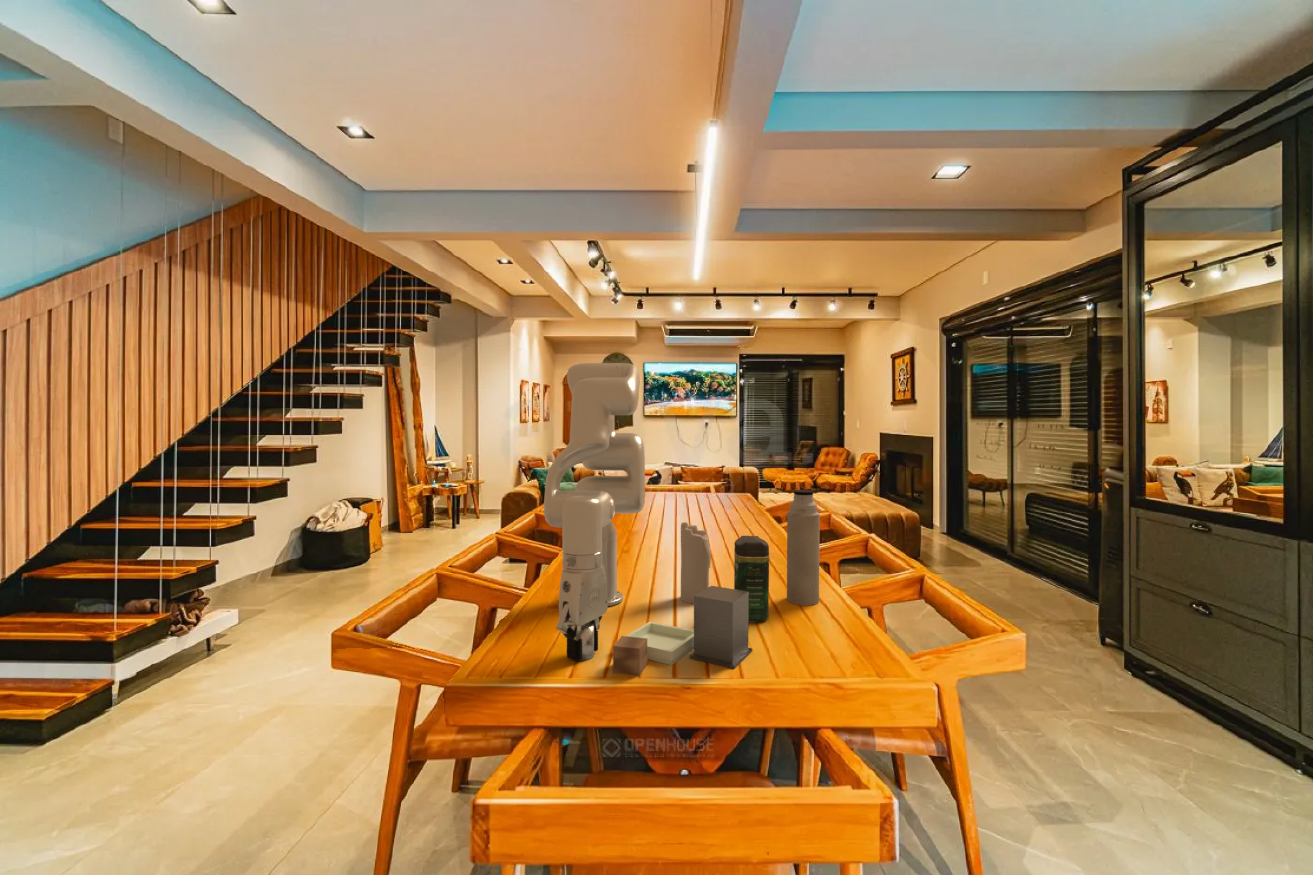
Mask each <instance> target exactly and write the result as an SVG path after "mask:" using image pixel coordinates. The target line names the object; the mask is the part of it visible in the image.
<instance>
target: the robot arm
mask: <svg viewBox="0 0 1313 875" xmlns="http://www.w3.org/2000/svg"><path fill="white" fill-rule="evenodd" d="M566 380H567V384H568V387H569V390H570V393H571V410H570V414H571V415H570V425H569V426H570V429H569V442H568V444H567V445H566V446H565V447H564V449H563V450H562V451H561V452H559V454H558V455H557V456H556V457H555V458H554V459H553V461H552V463H551V465H550V467H549V469H548V470H547V474H546V479H545V484H544V486H545V489H544V499H543V516H544V519H545V522H546V523H547V524H548V525H549V526H550V527H554V528H562V562H561V563H562V570H561V575H560V576H561V577H560V581H559V583H560V584H559V592H558V616H559V617H558V618H559V619H558V621H557V623H556V626H555V627H556V630H557V631H559V632H561V633H562V634H563V636H564V639H566V657H567V659H570V660H574V661H576V660H577V661H576V662H581V661H580V660H581V659H582V639H579V638H580V631H581V626H582V625H584V624H586V623H588V622H591V623H593V624H594V652H597V651H598V650H599V630H600V628H601V624H600V622H601V620H602V618H603V616H604V615H605V614H606V612H608V607H612V606H615V605H618V604H620V603H621V602H623V600H624V594H623V593H622V592H621V591H619V590H618V543H617V542H618V540H617V539H618V537H617V536H618V532H617V528H616V526H615V525H614V523H613V522H612V520H613V519H614V517H615V515H618V514H623V515H624V514H625V515H626V514H627V515H628V514H629V515H630V514H637V513H640V512H642V511H643V509H644V507H645V501H646V472H645V470H646V466H645V465H646V464H645V460H646V459H645V458H646V457H645V446H644V442H643V439H642V437H641V436H640V435H639V434H637V433H634V432H616V431H615V416H631V415H634V414H635V412H636V410H637V409H638V404H639V398H640V396H639V395H640V383H641V381H640V380H641V378H640V372H639V370H638V367H637V366H636V365H634V364H632V363H627V362H626V363H625V362H624V363H623V362H617V363H616V362H611V363H610V362H583V363H577V364H573V365H571V366H570V367H569V368H568V369H567V373H566ZM580 463H582V465H583V467H584V468H585V469H587V470H591V471H603V472H604V471H605V472H606V471H621V472H624V473H625V474H626V475H590V476H585V477H583V478H581V479H580V480H578V481H577V483H576V485H575V490H573V489H572V490H560V486H561V482H562V479H563V477H564V475H565V474H567V472H568V471H569V470H570V469H572V468H573V467H575V466H576V465H578V464H580ZM572 625H573V626H575V631H574V630H573V629H572V628H571V627H572Z"/></svg>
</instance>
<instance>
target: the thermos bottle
mask: <svg viewBox="0 0 1313 875" xmlns="http://www.w3.org/2000/svg"><path fill="white" fill-rule="evenodd" d="M813 495H814V491H813V490H808V489H798V490H797V489H796V490H793V501H792V502H790V504H789V511H787V513H786V514H787V515H786V522H787V523H786V525H787V526H786V528H787V529H786V601H788V602H789V603H791V604H795V605H799V604H800V606H812V605H811V604H814V605H817V604H819V602H820V531H821V530H820V529H821V528H820V526H821V524H820V522H821V521H820V517H821V516H820V515H821V514H820V512H818V505H817V503H815V502H814V496H813Z"/></svg>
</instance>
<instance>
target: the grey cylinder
mask: <svg viewBox="0 0 1313 875" xmlns="http://www.w3.org/2000/svg"><path fill="white" fill-rule="evenodd" d="M571 628H572V629H573V630H574V631H575V626H573V625H572V627H571ZM579 639H582V659H581V660H580V661H579V662H585V661H590V660H592V659H594V657H595V651H594V624H593V623H591V622H588V623H586V624H584V625H582V626H581V631H580V638H579ZM575 661H576V662H578V661H577V660H575Z"/></svg>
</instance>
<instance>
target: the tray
mask: <svg viewBox="0 0 1313 875" xmlns="http://www.w3.org/2000/svg"><path fill="white" fill-rule="evenodd" d="M625 636H628V637H638V638H647V661H648V660H649V661H652V662H653V661H654V662H657V663H661V664H664V665H665V664H666V665H669V666H674V664H676V663H677V662H679V660H681V659H682V658H684V657H685V656H686V655H687V654H689V653H691V652H692V651H694V629H689V628H684V627H679V626H673V625H671V624H670V625H668V624H663V623H659V622H656V621H655V622H653V621H648V622H647V623H645V624H644V625H642V626H639V627H638V628H637V629H634V630H633V631H631V632H629V633H628V634H626V635H625Z"/></svg>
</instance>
